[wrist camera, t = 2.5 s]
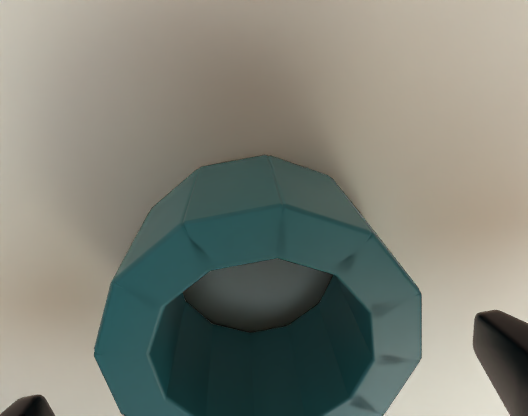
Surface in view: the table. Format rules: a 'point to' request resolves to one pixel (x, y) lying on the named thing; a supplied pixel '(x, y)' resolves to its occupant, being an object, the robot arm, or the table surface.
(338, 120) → the table surface
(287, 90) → the table surface
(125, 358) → the tape roll
